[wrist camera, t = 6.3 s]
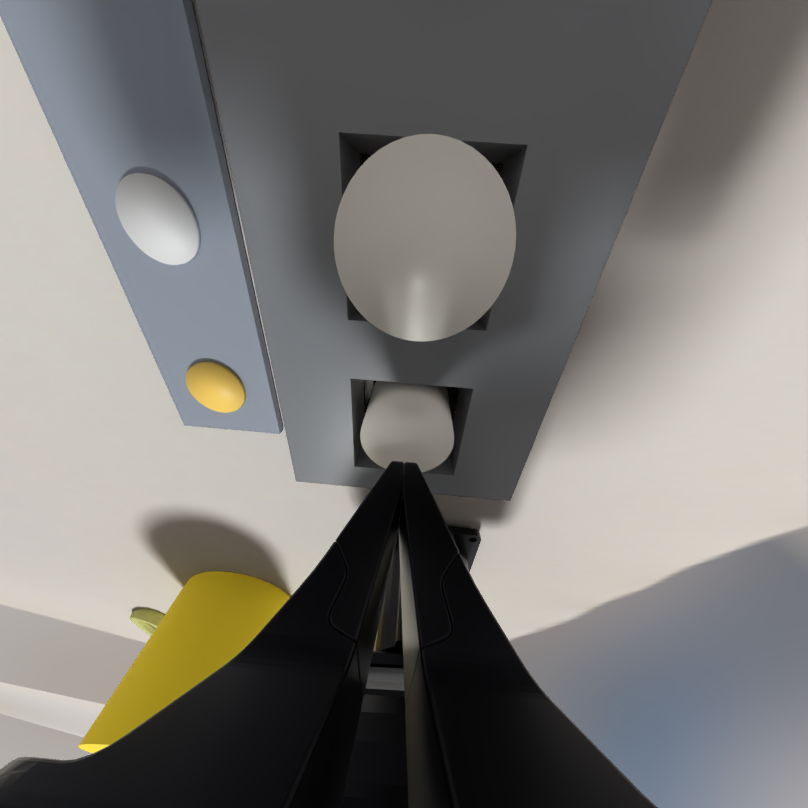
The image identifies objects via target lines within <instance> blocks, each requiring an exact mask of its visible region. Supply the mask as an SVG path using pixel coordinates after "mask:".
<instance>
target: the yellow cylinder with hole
mask: <svg viewBox="0 0 808 808" xmlns="http://www.w3.org/2000/svg"><path fill="white" fill-rule="evenodd" d="M289 598H290V596H289V595H288V594H286V593H285V592H284V591H282V590H281V589H279V588H278V587H276V586H274V585H272V584H270V583H268V582H266V581H263V580H260V579H258V578H255V577H251V576H248V575H243V574H238V573H232V572H222V571H213V572H204V573H199V574H196V575H194V576H192V577H191V578H190V579H189V580H188V581H187V583H186V584H185V586H184V587H183V589H182V590H181V592H180V593H179V595H178V596H177V598H176V599H175V601H174V602H173V604H172V605H171V607H170V608H169V610H168V611H167V613H166V614H165V616H164V618H163V619H162V621H161V622H160V624H159V625H158V627H157V628H156V630H155V631H154V633H153V634H152V636H151V637H150V639H149V640H148V642H147V643H146V645H145V646H144V648H143V649H142V651H141V652H140V654H139V655H138V657H137V658H136V660H135V662H134V663H133V664H132V666H131V667H130V669H129V670H128V672H127V674H126V675H125V677H124V678H123V680H122V681H121V683H120V684H119V686H118V687H117V689H116V690H115V692H114V693H113V695H112V696H111V698H110V699H109V701H108V702H107V704H106V705H105V707H104V708H103V710H102V711H101V713H100V714H99V716H98V717H97V719H96V720H95V722H94V723H93V725H92V726H91V728H90V729H89V731H88V732H87V734H86V736H85V737H84V739H83V740H82V742H81V743H80V745H79V746H78V747H79V748H80V749H83V750H85V751H88V752H91V753H95V752H97V751H99V750H101V749H103V748H105V747H107V746H109V745H111V744H112V743H114V742H115V741H117V740H119V739H120V738H122V737H123V736H125V735H126V734H128V733H129V732H131V731H132V730H133V729H135V728H136V727H138V726H139V725H140V724H142V723H143V722H145V721H146V720H148V719H149V718H150V717H152V716H153V715H155V714H156V713H157V712H159V711H160V710H162V709H163V708H164V707H166V706H167V705H169V704H170V703H172V702H173V701H174V700H176V699H177V698H179V697H180V696H181V695H183V694H184V693H186V692H187V691H188V690H190V689H191V688H193V687H194V686H196V685H197V684H198V683H200V682H201V681H203V680H204V679H205V678H207V677H208V676H210V675H211V674H212V673H214V672H215V671H217V670H218V669H220V668H221V667H222V666H224V665H225V664H226V663H228V662H229V661H230V660H231V659H233V658H234V657H235V656H236V655H237V654H239V653H240V652H241V651H242V650H243V649H244V648H245V647H246V646H247V645H248V644H249V643H250V642H251V641H252V640H253V639H254V638H255V637H256V635H257V634H258V633H259V632H260V631H261V630H262V629H263V628H264V627H265V625H266V624H267V623H268V622H269V621H270V620H271V619H272V617H273V616H274V615H275V614H276V613H277V612H278V611H279V610H280V608H281V607H282V606H283V605H284V604H285V603H286V602H287V600H288V599H289Z"/></svg>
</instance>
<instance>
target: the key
mask: <svg viewBox="0 0 808 808" xmlns="http://www.w3.org/2000/svg"><path fill="white" fill-rule="evenodd" d="M164 616H165V614H162V613H160V612H157V611H153V610H147V609H137V610H135V611H133V613H132V615H131V616H130V620H131V621H132V622H133V623H135V624H136V625H137V626H138V627H139V628H141V629H142V630H143V631H145V632H146V633H147V634H149V635H150V636H152V634H153V633H154V631H155V630H156V628H157V627H158V625H159V624H160V622H161V621H162V619H163V618H164ZM151 625H152V626H151ZM153 626H154V627H156V628H154V627H153Z"/></svg>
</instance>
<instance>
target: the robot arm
mask: <svg viewBox="0 0 808 808" xmlns="http://www.w3.org/2000/svg"><path fill="white" fill-rule="evenodd" d="M403 471H404V473H403ZM402 483H403V485H402ZM401 495H402V497H401ZM400 507H401V509H400ZM399 519H400V521H399ZM480 541H481V537H480V533H479V531H477V530H474V529H463V528H452V527H447V525H446V523H445V521H444V519H443V517H442V515H441V512H440V510H439V508H438V506H437V504H436V502H435V500H434V498H433V496H432V493H431V491H430V489H429V487H428V485H427V483H426V481H425V479H424V477H423V474H422V472H421V470H420V468H419V466H418V464H417V463H414V462H405V463H404V462H402V461H391V462H390V464H389V465H388V467H387V468H386V470H385V471H384V472H383V474H382V475H381V477H380V478H379V479H378V481H377V482H376V484H375V485H374V487H373V488H372V489H371V491H370V492H369V494H368V495H367V496H366V498H365V499H364V501H363V502H362V504H361V505H360V506H359V508H358V509H357V511H356V512H355V513H354V515H353V516H352V518H351V519H350V521H349V522H348V523H347V525H346V526H345V528H344V529H343V530H342V532H341V533H340V535H339V536H338V538H337V539H336V542H334V543H333V544H332V546H331V547H330V549H329V550H328V551H327V553H326V554H325V556H324V557H323V558H322V560H321V561H320V562H319V564H318V565H317V566H316V568H315V569H314V570H313V571H312V573H311V574H310V575H309V576H308V577H307V579H306V580H305V581H304V582H303V583H302V584H301V586H300V587H299V588H298V589H297V590H296V591H295V593H294V594H293V595H292V596H291V597H290V598H289V599H288V600H287V602H286V603H285V604H284V605H283V606H282V607H281V608H280V610H279V611H278V612H277V613H276V614H275V615H274V616H273V617H272V619H271V620H270V621H269V622H268V623H267V624H266V625H265V627H264V628H263V629H262V630H261V631H260V632H259V633H258V634H257V635H256V637H255V638H254V639H253V640H252V641H251V642H250V643H249V644H248V645H247V646H246V647H245V648H244V649H243V650H242V651H241V652H240V653H239V654H237V655H236V656H235V657H234V658H233V659H231V660H230V661H229V662H228V663H226V664H225V665H224V666H222V667H221V668H220V669H218V670H217V671H215V672H214V673H212V674H211V675H210V676H208V677H207V678H205V679H204V680H203V681H201V682H200V683H198V684H197V685H196V686H194V687H193V688H191V689H190V690H188V691H187V692H186V693H184V694H183V695H181V696H180V697H179V698H177V699H176V700H174V701H173V702H172V703H170V704H169V705H167V706H166V707H164V708H163V709H162V710H160V711H159V712H157V713H156V714H155V715H153V716H152V717H150V718H149V719H148V720H146V721H145V722H143V723H142V724H140V725H139V726H138V727H136V728H135V729H133V730H132V731H131V732H129V733H128V734H126V735H125V736H123V737H122V738H120V739H119V740H117V741H115V742H114V743H112V744H111V745H109V746H107V747H105V748H103V749H101V750H99V751H97V752H95V753H93V754H91V755H88V756H85V757H82V758H78V759H75V760H56V759H46V758H37V757H21V758H17V759H15V760H13V761H11V762H10V763H8V764H7V765H6V766H4V767H3V768H2V769H0V808H658V807H656V806H655V805H654V804H653V803H652V802H651V801H650V800H649V799H648V798H647V797H646V796H645V795H643V794H642V793H641V792H640V791H639V790H638V789H637V788H636V787H635V786H634V785H633V784H632V783H631V781H630V780H629V779H627V777H626V776H625V775H624V774H623V773H622V772H621V771H620V770H619V769H618V768H617V767H616V766H615V765H614V764H613V763H612V762H611V761H610V760H609V759H608V758H607V757H606V756H605V755H604V754H603V753H602V752H601V751H600V750H599V749H598V748H597V747H596V746H595V745H594V744H593V742H592V741H591V740H590V739H588V738H587V736H586V735H585V734H584V733H583V732H582V731H581V730H580V729H579V728H578V727H577V726H576V725H575V724H574V723H573V722H572V721H571V720H570V719H569V718H568V717H567V716H566V715H565V714H564V713H563V712H562V711H561V710H560V709H559V708H558V707H557V706H556V705H555V703H553V702H552V700H550V698H549V697H548V696H547V695H546V694H545V693H544V692H543V690H542V689H541V688H540V687H539V685H538V684H537V683H536V681H535V680H534V679H533V678H532V676H531V675H530V673H529V672H528V670H527V669H526V667H525V666H524V664H523V663H522V661H521V659H520V658H519V656H518V655H517V653H516V651H515V650H514V648H513V646H512V645H511V643H510V642H509V640H508V638H507V637H506V635H505V633H504V632H503V630H502V628H501V627H500V625H499V624H498V622H497V620H496V619H495V617H494V615H493V614H492V612H491V610H490V609H489V607H488V606H487V604H486V602H485V600H484V599H483V597H482V595H481V593H480V592H479V590H478V588H477V587H476V585H475V583H474V581H473V579H472V577H471V575H470V573H469V572H470V569H471V566H472V564H473V561H474V558H475V555H476V552H477V550H478V547H479V544H480Z"/></svg>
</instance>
